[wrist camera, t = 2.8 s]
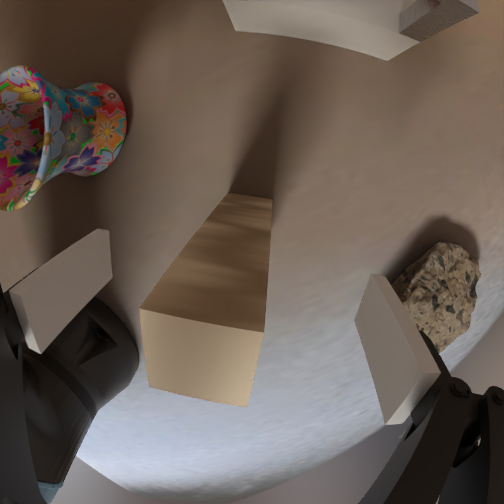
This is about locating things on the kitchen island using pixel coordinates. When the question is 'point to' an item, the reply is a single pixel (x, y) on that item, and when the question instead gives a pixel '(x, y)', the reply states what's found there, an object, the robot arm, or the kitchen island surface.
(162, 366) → the tall wooden block
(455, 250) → the rock
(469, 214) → the kitchen island surface
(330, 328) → the kitchen island surface
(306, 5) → the box
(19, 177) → the mug
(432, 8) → the frame
